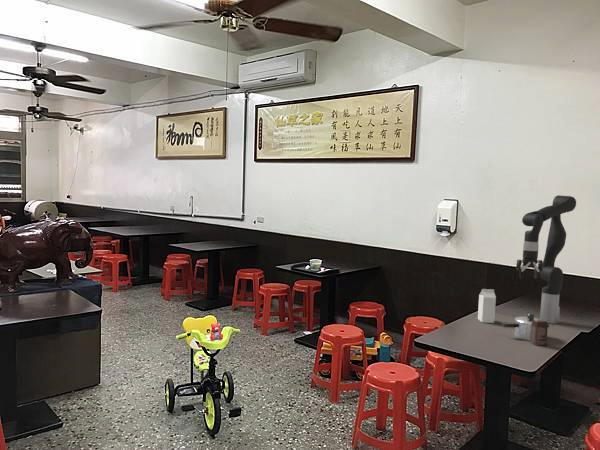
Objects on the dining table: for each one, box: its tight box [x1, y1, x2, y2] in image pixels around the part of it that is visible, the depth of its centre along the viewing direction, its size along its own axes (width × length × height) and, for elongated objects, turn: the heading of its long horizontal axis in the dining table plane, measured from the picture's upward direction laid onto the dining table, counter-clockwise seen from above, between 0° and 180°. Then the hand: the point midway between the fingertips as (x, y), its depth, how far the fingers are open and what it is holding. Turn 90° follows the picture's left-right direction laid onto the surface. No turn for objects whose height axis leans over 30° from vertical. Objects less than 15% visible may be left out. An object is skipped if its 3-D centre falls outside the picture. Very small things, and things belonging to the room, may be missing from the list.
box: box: [530, 320, 549, 346], centre depth 231 cm, size 6×4×12 cm
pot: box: [501, 321, 550, 341], centre depth 243 cm, size 25×14×8 cm, turn 95°
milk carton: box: [477, 288, 497, 324], centre depth 271 cm, size 7×7×19 cm
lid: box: [514, 312, 541, 326], centre depth 243 cm, size 15×15×4 cm
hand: (528, 278), depth 259 cm, fingers open, 8 cm apart
